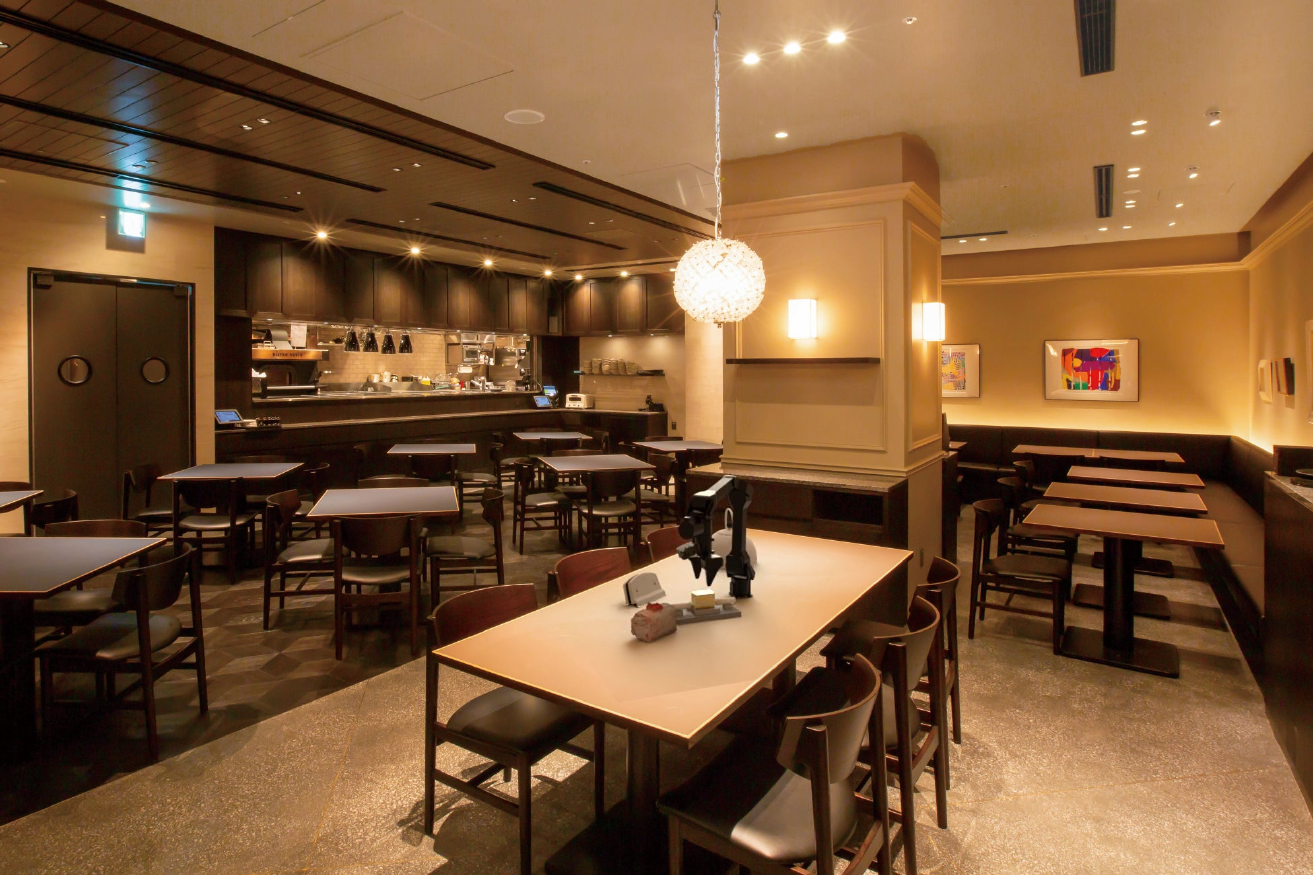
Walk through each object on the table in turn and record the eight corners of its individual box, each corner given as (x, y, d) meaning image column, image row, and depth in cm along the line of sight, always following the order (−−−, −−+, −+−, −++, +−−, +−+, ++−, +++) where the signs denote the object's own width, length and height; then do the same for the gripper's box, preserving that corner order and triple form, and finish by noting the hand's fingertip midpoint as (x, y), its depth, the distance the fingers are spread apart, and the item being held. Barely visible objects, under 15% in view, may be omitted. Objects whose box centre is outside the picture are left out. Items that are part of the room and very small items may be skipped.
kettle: (697, 555, 304) (697, 503, 302) (749, 554, 306) (749, 502, 304) (706, 570, 279) (706, 514, 277) (762, 568, 281) (763, 513, 279)
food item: (649, 645, 199) (649, 611, 198) (628, 639, 204) (628, 605, 203) (679, 632, 209) (679, 600, 208) (659, 626, 214) (658, 594, 213)
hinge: (637, 607, 232) (629, 578, 234) (627, 609, 235) (619, 580, 236) (666, 595, 246) (658, 567, 247) (656, 597, 249) (648, 569, 250)
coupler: (696, 613, 221) (696, 595, 221) (691, 609, 225) (691, 591, 224) (714, 611, 223) (714, 592, 223) (709, 607, 227) (709, 589, 226)
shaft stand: (727, 606, 232) (727, 592, 232) (741, 616, 223) (741, 601, 223) (665, 614, 225) (665, 599, 225) (676, 624, 216) (676, 609, 215)
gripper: (668, 530, 228) (668, 577, 229) (690, 542, 210) (690, 593, 212) (700, 527, 232) (700, 574, 233) (724, 539, 214) (724, 589, 215)
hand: (702, 582), depth 223 cm, fingers open, 9 cm apart
